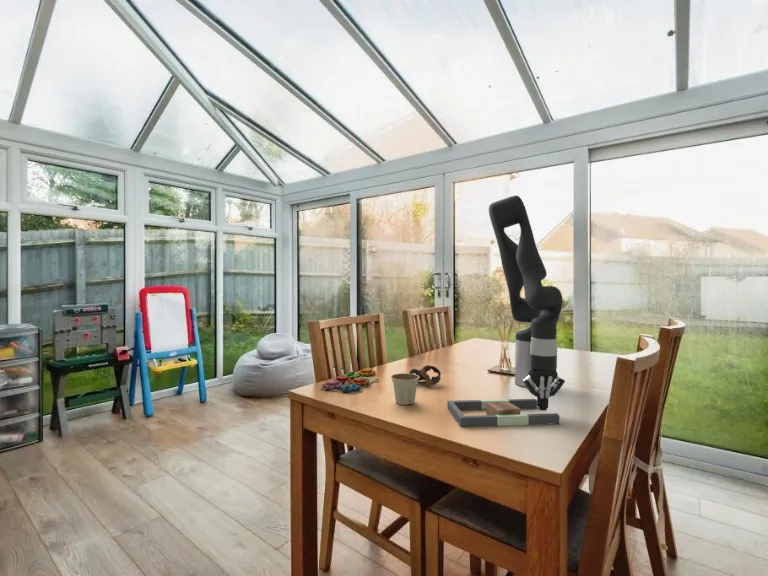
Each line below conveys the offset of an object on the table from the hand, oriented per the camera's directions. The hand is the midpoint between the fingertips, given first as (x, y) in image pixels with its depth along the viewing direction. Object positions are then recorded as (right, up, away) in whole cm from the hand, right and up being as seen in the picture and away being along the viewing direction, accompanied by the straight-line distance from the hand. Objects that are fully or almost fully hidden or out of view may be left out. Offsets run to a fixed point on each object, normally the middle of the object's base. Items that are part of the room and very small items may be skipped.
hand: (542, 409), depth 119 cm
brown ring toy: (-32, -1, +33) cm, 46 cm away
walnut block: (-13, -2, -3) cm, 13 cm away
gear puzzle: (-59, -1, +37) cm, 69 cm away
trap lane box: (-12, -2, -1) cm, 12 cm away
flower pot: (-41, -1, +11) cm, 42 cm away
